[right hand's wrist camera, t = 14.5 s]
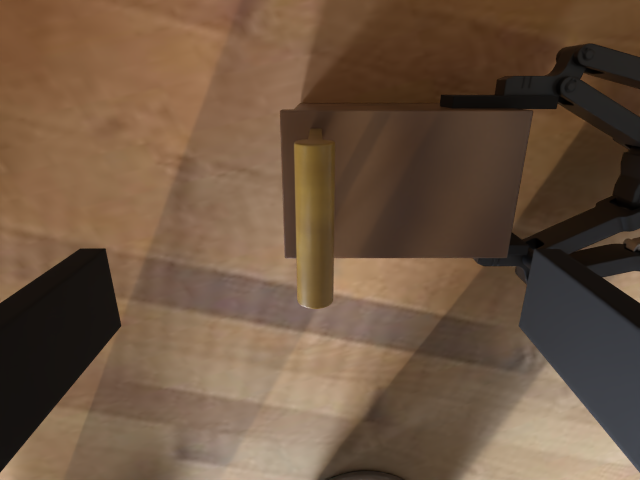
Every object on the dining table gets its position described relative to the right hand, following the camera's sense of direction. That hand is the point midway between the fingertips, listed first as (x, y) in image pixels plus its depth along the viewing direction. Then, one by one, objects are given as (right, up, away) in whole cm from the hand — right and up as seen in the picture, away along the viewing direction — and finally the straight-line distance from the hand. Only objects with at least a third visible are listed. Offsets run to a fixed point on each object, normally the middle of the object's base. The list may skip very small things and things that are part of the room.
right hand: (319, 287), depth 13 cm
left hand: (+8, +6, +15) cm, 18 cm away
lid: (+5, +5, +13) cm, 15 cm away
